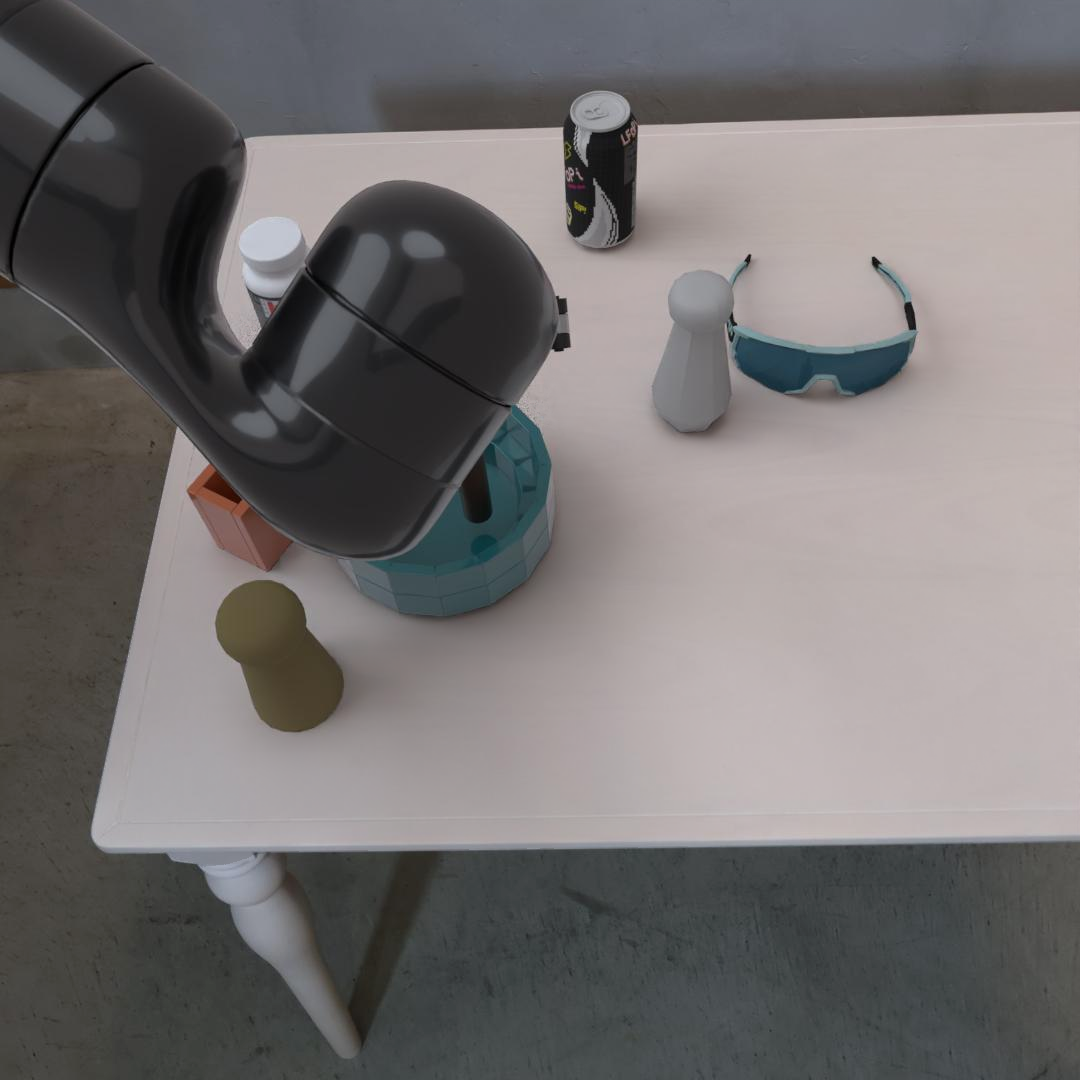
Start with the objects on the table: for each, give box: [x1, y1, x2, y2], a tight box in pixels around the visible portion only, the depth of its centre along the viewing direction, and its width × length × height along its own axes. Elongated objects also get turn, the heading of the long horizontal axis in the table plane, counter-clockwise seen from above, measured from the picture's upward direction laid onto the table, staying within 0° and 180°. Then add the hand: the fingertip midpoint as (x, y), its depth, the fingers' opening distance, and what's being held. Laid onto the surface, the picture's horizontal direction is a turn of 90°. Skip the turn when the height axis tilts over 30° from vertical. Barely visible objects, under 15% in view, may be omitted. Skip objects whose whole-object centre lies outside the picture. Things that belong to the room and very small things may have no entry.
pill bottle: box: [238, 215, 312, 329], centre depth 86 cm, size 6×6×10 cm
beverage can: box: [562, 90, 639, 249], centre depth 90 cm, size 6×6×12 cm
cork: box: [214, 579, 345, 733], centre depth 69 cm, size 6×6×11 cm
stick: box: [459, 452, 493, 524], centre depth 68 cm, size 2×2×20 cm
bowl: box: [335, 404, 556, 617], centre depth 77 cm, size 16×16×6 cm
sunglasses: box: [726, 253, 919, 397], centre depth 87 cm, size 14×15×5 cm
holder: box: [185, 462, 293, 572], centre depth 77 cm, size 5×5×7 cm
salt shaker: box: [651, 269, 735, 434], centre depth 79 cm, size 6×6×13 cm
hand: (448, 328), depth 65 cm, fingers closed on stick, 2 cm apart
